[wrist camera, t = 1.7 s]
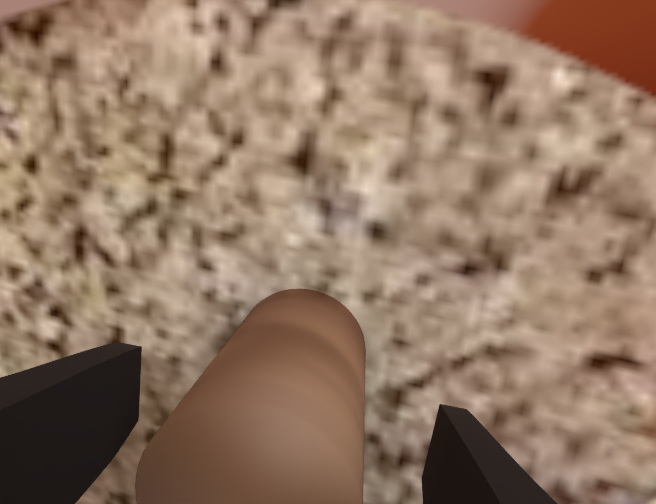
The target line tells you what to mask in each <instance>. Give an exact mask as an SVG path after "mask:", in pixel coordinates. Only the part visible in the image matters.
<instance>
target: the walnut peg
mask: <svg viewBox="0 0 656 504" xmlns="http://www.w3.org/2000/svg"><path fill="white" fill-rule="evenodd" d="M365 356H366V350H365V341H364V336H363V333H362V330H361V328H360V326H359V324H358V322H357V320H356V319H355V317H354V316H353V315H352V313H351V312H350V311H349V310H348V309H347V308H346V307H345V306H344V305H342V304H341V303H340V302H339V301H337V300H336V299H334V298H332V297H330V296H328V295H326V294H324V293H321V292H318V291H314V290H308V289H290V290H285V291H281V292H278V293H275V294H273V295H271V296H269V297H267V298H265V299H264V300H262V301H261V302H260V303H259V304H258V305H256V306H255V308H254V309H253V310H252V311H251V312H250V314H249V315H248V316H247V317H246V319H245V320H244V321H243V323H242V324H241V325H240V326H239V328H238V329H237V330H236V331H235V333H234V334H233V335H232V337H231V338H230V339H229V340H228V342H227V343H226V344H225V346H224V347H223V348H222V349H221V351H220V352H219V353H218V355H217V356H216V357H215V358H214V360H213V361H212V362H211V364H210V365H209V366H208V367H207V369H206V370H205V371H204V373H203V374H202V375H201V376H200V378H199V379H198V380H197V382H196V383H195V384H194V385H193V387H192V388H191V389H190V391H189V392H188V393H187V394H186V396H185V397H184V398H183V399H182V401H181V402H180V403H179V405H178V406H177V407H176V408H175V410H174V411H173V412H172V414H171V415H170V416H169V417H168V419H167V420H166V421H165V423H164V424H163V425H162V426H161V428H160V429H159V430H158V432H157V433H156V434H155V435H154V437H153V438H152V439H151V441H150V442H149V444H148V445H147V447H146V449H145V450H144V452H143V455H142V457H141V460H140V462H139V466H138V470H137V474H136V486H135V488H136V500H137V504H363V466H364V411H365Z"/></svg>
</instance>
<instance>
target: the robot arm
mask: <svg viewBox="0 0 656 504" xmlns="http://www.w3.org/2000/svg"><path fill="white" fill-rule="evenodd" d="M141 351H142V347H140V346H135V345H130V344H125V343H119V342H117V343H112V344H107V345H104V346H100V347H97V348H93V349H90V350H87V351H83V352H80V353H77V354H74V355H71V356H68V357H65V358H62V359H58V360H55V361H52V362H49V363H46V364H43V365H40V366H37V367H34V368H31V369H28V370H24V371H21V372H18V373H15V374H11V375H8V376H5V377H1V378H0V504H75V503H76V502H77V501H78V500H79V498H80V497H81V496H82V495H83V494H84V493H85V491H86V490H87V489H88V488H89V487H90V485H91V484H92V483H93V482H94V481H95V480H96V478H97V477H98V476H99V475H100V474H101V472H102V471H103V470H104V469H105V468H106V467H107V465H108V464H109V463H110V462H111V460H112V459H113V458H114V456H115V455H116V454H117V452H118V451H119V449H120V448H121V446H122V445H123V443H124V442H125V440H126V439H127V437H128V436H129V434H130V433H131V431H132V429H133V428H134V426H135V425H136V423H137V422H138V418H139V396H140V373H141ZM422 491H423V504H557V503H556V502H555V501H554V500H553V499H552V498H551V497H550V496H549V495H548V494H547V493H546V492H545V491H544V490H543V489H542V488H541V487H540V486H539V485H538V484H537V483H536V482H535V481H534V480H533V479H532V478H531V477H530V476H529V475H528V474H527V473H526V472H525V471H524V470H523V469H522V468H521V467H520V465H519V464H518V463H517V462H516V461H515V460H514V459H513V458H512V457H511V456H510V455H509V454H508V453H507V452H506V451H505V449H504V448H503V447H502V446H501V445H500V444H499V443H498V442H497V441H496V440H495V439H494V437H493V436H492V435H491V434H490V433H489V432H488V431H487V430H486V429H485V428H484V427H483V426H482V424H481V423H480V422H479V421H478V420H477V419H476V418H475V417H474V416H473V415H472V414H471V413H470V412H469V411H468V410H467V409H463V408H458V407H452V406H447V405H442V404H440V405H439V410H438V414H437V418H436V422H435V426H434V430H433V434H432V438H431V442H430V446H429V451H428V455H427V459H426V463H425V467H424V471H423V475H422Z"/></svg>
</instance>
